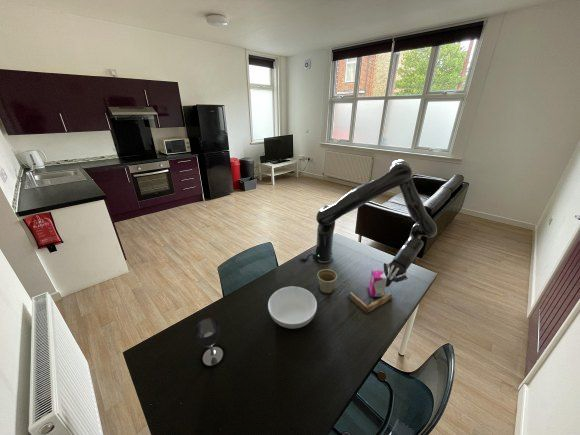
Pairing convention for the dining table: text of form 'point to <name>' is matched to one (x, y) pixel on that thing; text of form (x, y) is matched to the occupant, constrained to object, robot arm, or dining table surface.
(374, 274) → the supplement box
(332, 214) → the robot arm
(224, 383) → the dining table surface
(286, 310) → the serving bowl
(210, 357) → the wine glass
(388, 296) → the corner fence
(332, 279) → the flower pot
